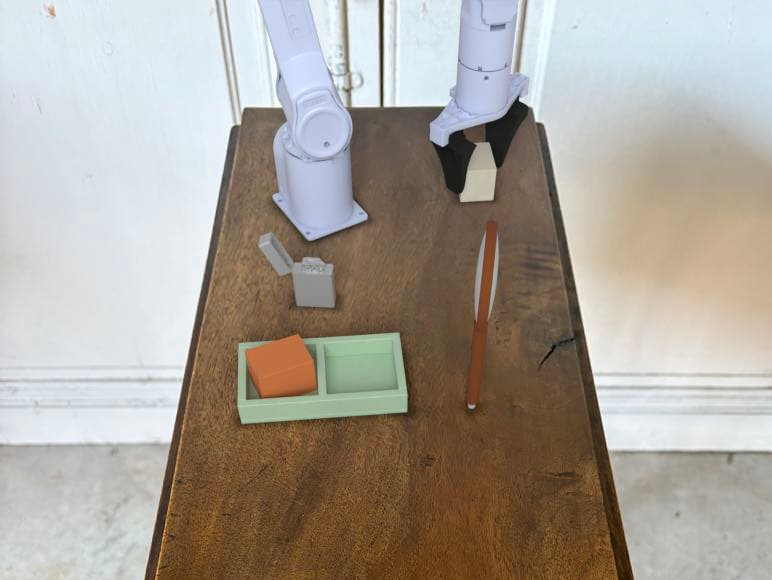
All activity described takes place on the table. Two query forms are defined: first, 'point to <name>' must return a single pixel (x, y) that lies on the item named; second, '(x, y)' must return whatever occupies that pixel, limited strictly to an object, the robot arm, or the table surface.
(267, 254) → the lighter
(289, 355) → the orange block
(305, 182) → the robot arm
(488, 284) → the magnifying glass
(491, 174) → the cream rectangular block
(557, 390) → the table surface
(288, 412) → the tray
